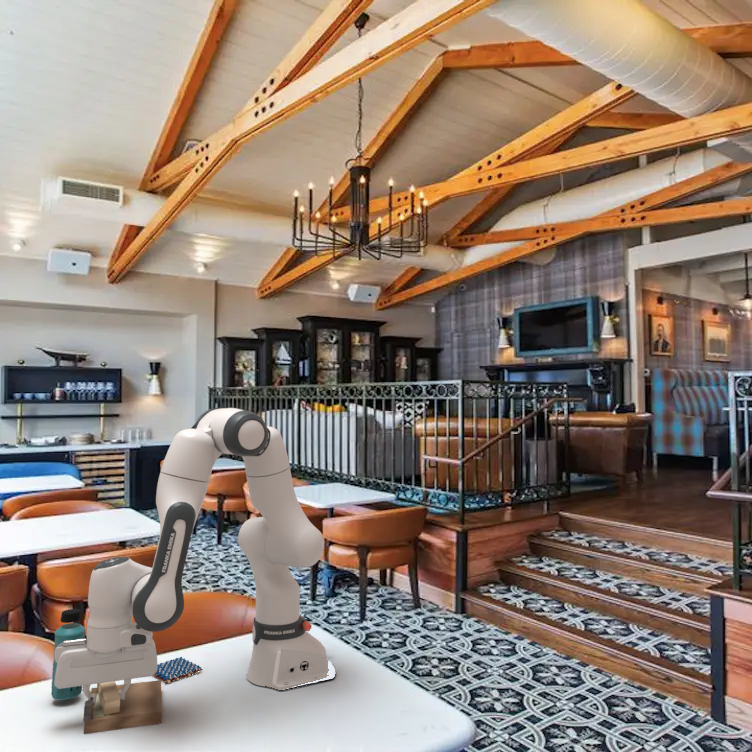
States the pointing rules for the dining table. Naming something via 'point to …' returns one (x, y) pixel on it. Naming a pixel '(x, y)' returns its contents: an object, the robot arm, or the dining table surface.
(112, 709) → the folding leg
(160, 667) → the woven mat
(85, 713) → the brown wooden box
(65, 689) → the beverage bottle
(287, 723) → the dining table surface
